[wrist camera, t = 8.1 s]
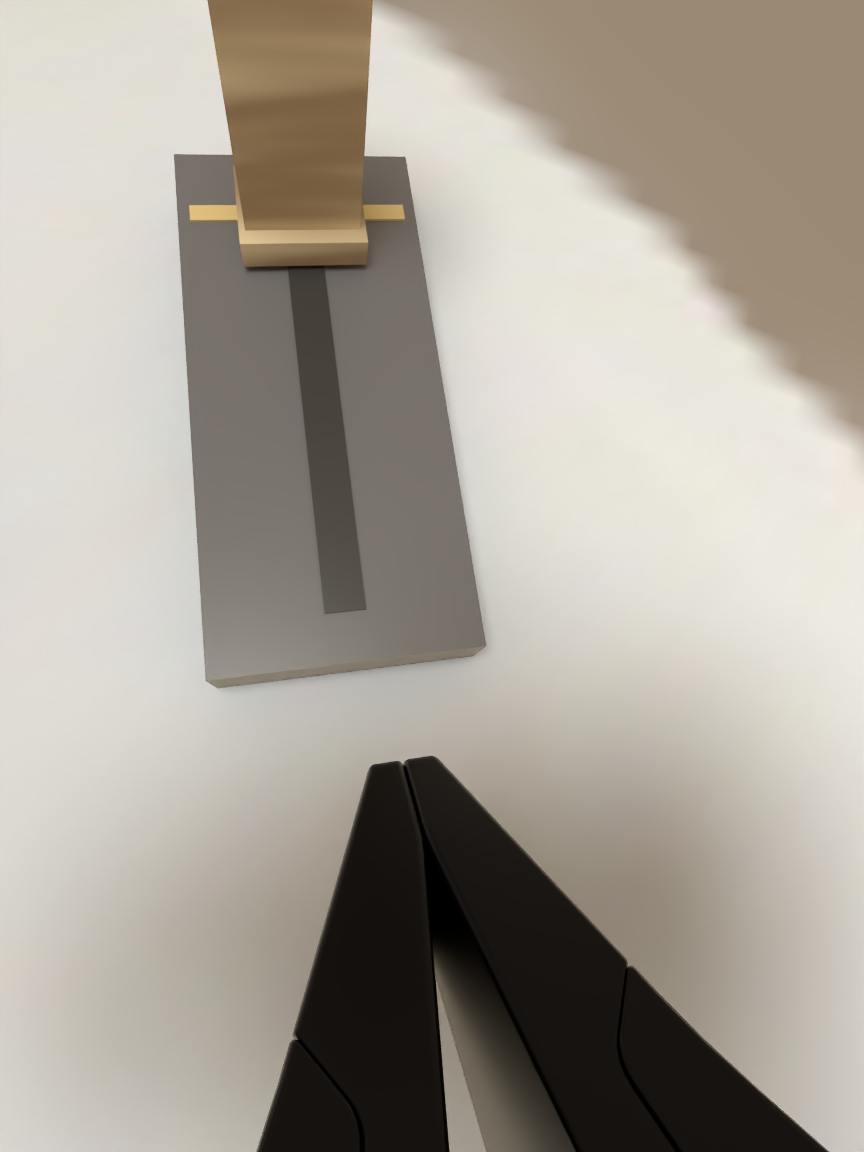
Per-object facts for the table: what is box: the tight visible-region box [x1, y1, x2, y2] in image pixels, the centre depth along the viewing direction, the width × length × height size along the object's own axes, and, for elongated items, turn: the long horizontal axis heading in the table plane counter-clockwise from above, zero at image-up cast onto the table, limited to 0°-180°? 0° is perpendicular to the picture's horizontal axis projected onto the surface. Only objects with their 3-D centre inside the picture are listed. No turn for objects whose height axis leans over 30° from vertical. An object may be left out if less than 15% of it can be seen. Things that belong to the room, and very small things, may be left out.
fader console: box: [174, 154, 486, 688], centre depth 22 cm, size 18×8×2 cm, turn 8°
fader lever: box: [208, 0, 373, 267], centre depth 17 cm, size 3×5×12 cm, turn 98°
